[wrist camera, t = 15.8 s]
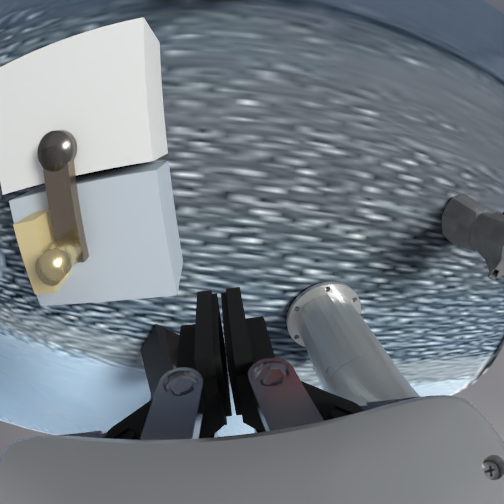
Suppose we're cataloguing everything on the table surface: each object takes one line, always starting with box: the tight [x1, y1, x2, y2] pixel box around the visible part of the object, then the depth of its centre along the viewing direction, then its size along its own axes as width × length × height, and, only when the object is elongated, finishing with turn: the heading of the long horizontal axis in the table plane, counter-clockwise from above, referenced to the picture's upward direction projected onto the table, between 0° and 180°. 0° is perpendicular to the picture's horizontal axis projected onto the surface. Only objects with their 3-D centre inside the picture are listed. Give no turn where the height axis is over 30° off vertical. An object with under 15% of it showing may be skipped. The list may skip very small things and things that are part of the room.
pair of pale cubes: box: [0, 17, 183, 306], centre depth 29 cm, size 30×19×14 cm, turn 4°
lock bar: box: [35, 130, 89, 286], centre depth 24 cm, size 14×4×6 cm, turn 1°
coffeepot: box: [441, 194, 504, 280], centre depth 37 cm, size 15×9×18 cm, turn 127°
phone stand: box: [141, 324, 180, 401], centre depth 42 cm, size 9×6×12 cm, turn 55°
